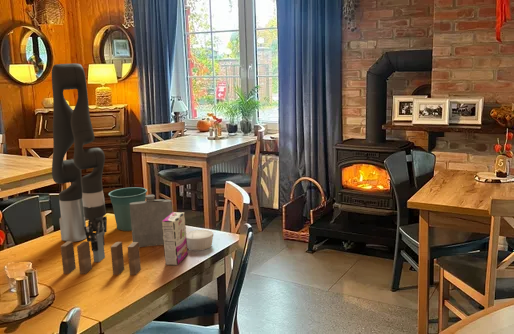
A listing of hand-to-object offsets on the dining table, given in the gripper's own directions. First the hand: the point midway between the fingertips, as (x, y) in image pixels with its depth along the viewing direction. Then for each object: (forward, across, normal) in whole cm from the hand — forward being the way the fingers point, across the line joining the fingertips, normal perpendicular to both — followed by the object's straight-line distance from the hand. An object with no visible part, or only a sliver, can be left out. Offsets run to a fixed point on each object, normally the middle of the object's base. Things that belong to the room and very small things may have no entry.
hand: (98, 248), depth 191 cm
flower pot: (+5, -39, -3) cm, 39 cm away
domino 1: (+4, +11, -6) cm, 13 cm away
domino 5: (+4, +11, +18) cm, 22 cm away
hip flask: (+5, -17, +15) cm, 23 cm away
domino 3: (+4, 0, 0) cm, 4 cm away
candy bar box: (+5, -1, +29) cm, 29 cm away
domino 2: (+4, +11, 0) cm, 12 cm away
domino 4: (+4, +11, +12) cm, 17 cm away
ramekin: (+5, -15, +34) cm, 37 cm away
